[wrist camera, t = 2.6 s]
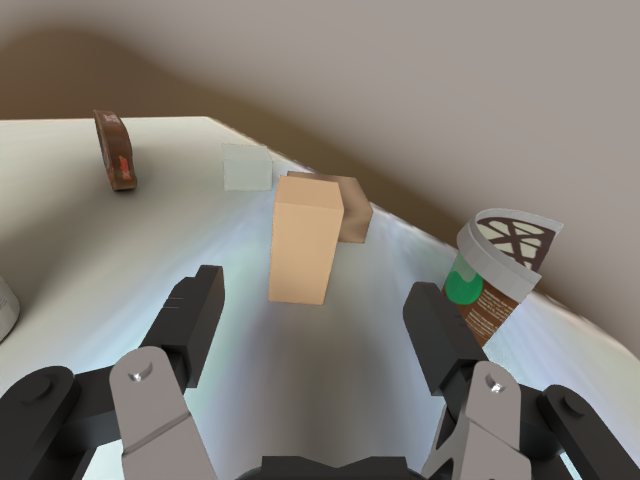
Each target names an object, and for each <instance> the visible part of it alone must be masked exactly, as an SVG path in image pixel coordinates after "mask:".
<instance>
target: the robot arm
mask: <svg viewBox="0 0 640 480" xmlns="http://www.w3.org/2000/svg"><path fill="white" fill-rule="evenodd" d="M224 300H225V289H224V276H223V268H222V266H213V265H201V266H200V268H199V270H198V272H197V274H196V276H195V277H185V278H184V279H182V280H181V281H180V282H179V283H178V284H176V285H175V286H174V288H173V290H172V291H171V293H170V295H169V297H168V299H167V300H166V302H165V303H164V305H163V308H162V309H161V310H160V312H159V314H158V316H157V317H156V319H155V321H154V322H153V324H152V326H151V328H150V329H149V331H148V333H147V334H146V336H145V338H144V340H143V341H142V343H141V345H140V346H139V347H138V349H135V350H133V351H131V352H129V353H127V354H126V355H124V356H123V357H122V358H121V359H120V360H119V361H118V362H117V363H116V364H114V365H112V366H109V367H105V368H101V369H97V370H93V371H89V372H84V373H80V374H76V375H74V374H73V373H72V371H71V370H70V369H68V368H67V367H63V366H50V367H45V368H42V369H39V370H37V371H34V372H32V373H30V374H28V375H26V376H25V377H23V378H22V379H20V380H19V381H17V382H16V383H15V384H14V385H13V386H11V387H10V388H9V389H8V390H7V391H6V393H5V394H4V395H3V396H2V397H1V399H0V480H82V478H83V476H84V474H85V472H86V470H87V468H88V466H89V464H90V462H91V459H92V457H93V455H94V453H95V451H96V449H97V447H98V446H101V445H104V444H107V443H110V442H113V441H116V440H119V439H122V443H123V453H122V467H123V473H124V478H125V480H217V477H216V475H215V472H214V470H213V467H212V465H211V462H210V460H209V457H208V455H207V452H206V450H205V447H204V445H203V442H202V440H201V437H200V434H199V432H198V429H197V427H196V424H195V422H194V420H193V417H192V415H191V413H190V412H189V410H188V408H187V405H186V403H185V400H184V398H183V395H184V393H185V390H186V388H197V385H198V382H199V379H200V376H201V373H202V370H203V367H204V364H205V361H206V358H207V355H208V352H209V349H210V346H211V343H212V340H213V337H214V334H215V331H216V328H217V325H218V322H219V319H220V316H221V313H222V310H223V306H224ZM19 312H20V306H19V301H18V300H17V298H16V297H15V295H14V294H13V292H12V291H11V289H10V288H9V286H8V285H7V284H6V282H5V281H4V279H3V278H2V276H1V275H0V341H1V340H2V339H3V338H4V337H5V336H6V335H7V334H8V332H9V331H10V330H11V329H12V327H13V325H14V324H15V322H16V321H17V319H18V315H19ZM403 319H404V322H405V325H406V328H407V330H408V333H409V336H410V339H411V341H412V344H413V347H414V349H415V352H416V355H417V357H418V360H419V363H420V366H421V368H422V371H423V374H424V376H425V379H426V382H427V384H428V387H429V390H430V393H431V395H432V396H444V399H445V401H446V404H445V405H444V407H443V409H442V413H441V417H440V420H439V424H438V427H437V431H436V434H435V438H434V441H433V445H432V448H431V452H430V454H429V457H428V459H427V461H426V463H425V465H424V467H423V469H422V471H421V474H419V473H417V472H415V471H413V470H411V469H409V468H408V467H407V463H406V459H405V457H369V458H366V459H363V460H360V461H357V462H355V463H352V464H349V465H346V466H343V467H340V468H333V467H330V466H327V465H324V464H321V463H318V462H315V461H312V460H309V459H306V458H303V457H300V456H263V457H262V466H261V467H258V468H255V469H252V470H250V471H248V472H246V473H244V474H243V475H241V476H240V477H238V478H237V479H235V480H574V479H573V478H572V476H571V474H570V472H569V471H568V469H567V467H566V466H565V464H564V462H563V461H562V459H561V457H560V456H559V455H560V454H562V453H564V452H566V454H567V455H568V457H569V459H570V460H571V462H572V463H573V465H574V467H575V468H576V470H577V472H578V473H579V475H580V477H581V478H582V480H640V469H639V468H638V466H637V465H636V464H635V463H634V461H633V460H632V459H631V457H630V456H629V455H628V453H627V452H626V451H625V449H624V448H623V447H622V446H621V444H620V443H619V442H618V440H617V439H616V438H615V436H614V435H613V434H612V433H611V431H610V430H609V429H608V427H607V426H606V425H605V423H604V422H603V421H602V420H601V418H600V417H599V416H598V414H597V413H596V412H595V410H594V409H593V408H592V407H591V406H590V404H589V403H588V402H587V401H586V400H585V399H583V398H582V397H581V396H580V395H578V394H577V393H575V392H574V391H572V390H571V389H569V388H566V387H564V386H561V385H550V386H549V387H547V388H546V389H545V390H544V391H543V392H542V391H539V390H536V389H533V388H531V387H528V386H525V385H522V384H519V383H517V382H516V380H515V379H514V377H513V376H512V375H511V374H510V373H509V372H508V371H507V370H505V369H504V368H503V367H501V366H499V365H497V364H495V363H493V362H490V361H489V359H488V358H487V356H486V354H485V353H484V351H483V349H482V348H481V346H480V344H479V343H478V341H477V339H476V338H475V336H474V334H473V333H472V331H471V330H470V328H469V327H468V325H467V323H466V321H465V320H464V318H462V315H461V313H460V311H459V310H458V308H457V306H456V305H455V304H454V303H453V302H452V301H451V300H450V299H449V298H447V297H446V296H442V294H441V292H440V291H439V289H438V287H437V286H436V284H434V283H428V282H415V283H414V284H413V286H412V288H411V291H410V293H409V295H408V298H407V300H406V302H405V304H404V307H403Z"/></svg>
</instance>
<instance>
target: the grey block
mask: <svg viewBox="0 0 640 480" xmlns="http://www.w3.org/2000/svg"><path fill="white" fill-rule="evenodd" d="M222 150H223V168H224V185H225V190H233V191H271V188H272V168H273V160H272V158H271V156H270V154H269V151H268V149H267V147H266V146H251V145H235V144H222Z"/></svg>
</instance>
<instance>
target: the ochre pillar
mask: <svg viewBox="0 0 640 480" xmlns="http://www.w3.org/2000/svg"><path fill="white" fill-rule="evenodd" d="M343 214H344V207H343V202H342V198H341V194H340V189H339V185H338V183H337V182H329V181H322V180H314V179H306V178H298V177H290V176H283V175H280V178H279V182H278V187H277V191H276V196H275V200H274V212H273V228H272V245H271V262H270V278H269V295H268V301H275V302H288V303H302V304H315V305H323V302H324V297H325V293H326V289H327V284H328V280H329V275H330V271H331V267H332V262H333V258H334V253H335V249H336V245H337V240H338V236H339V231H340V227H341V223H342V218H343Z"/></svg>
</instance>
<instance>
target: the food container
mask: <svg viewBox="0 0 640 480" xmlns="http://www.w3.org/2000/svg"><path fill="white" fill-rule="evenodd" d="M563 226H564V224H562V223H559V222H557V221H554V220H551V219H548V218H545V217H541V216H538V215H534V214H531V213H526V212H522V211H516V210H510V209H487V210H483V211H481V212H479V213H478V214H477V215H476V216H475V217H472V218H471V220H469V222H468V223H467V224H466V225H465V226H464V227H463V228H462V230H461V231H460V232H459V233H458V236H457V245H458V248H459V253H458V255H457V257H456V259H455V262H454V264H453V266H452V268H451V271H450V273H449V275H448V278H447V280H446V282H445V284H444V287H443V289H442V291H441V294H442V296H446V297H447V298H449V299H450V300H451V301H452V302H453V303H454V304H455V305H456V306H457V308H458V310H459V311H460V313H461V315H462V318H464V320H465V321H466V323H467V325H468V327H469V328H470V330H471V331H472V333H473V334H474V336H475V338H476V339H477V341H478V343H479V344H480V346H481V348H482V347H483V346H484V345H485V344H486V342H487V341H488V340H489V339H490V338H491V337H492V335H493V334H494V333H495V332H496V331H497V329H498V328H499V327H500V326H501V325H502V323H503V322H504V321H505V320H506V319H507V318H508V316H509V315H510V314H511V313H512V312H513V310H514V309H515V308H516V307H517V306H518V305H519V303H520V304H521V303H522V302H523V300H524V299H525V298H526V297H527V295H528V294H529V293H530V291H531V290H532V289H533V288H534V286H535V284H536V283H537V282H538V281H539V279H540V278H541V277H542V276H541V275H539V274H537V271H538V270H539V268H540V266H541V263H542V261H543V259H544V258H545V256H546V254H547V252H548V250H549V247H550V245H551V242H552V241H553V239H554V238H555V237H556V235H557V234H558V233H559V231H560V230H561V229H562V228H563Z"/></svg>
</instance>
